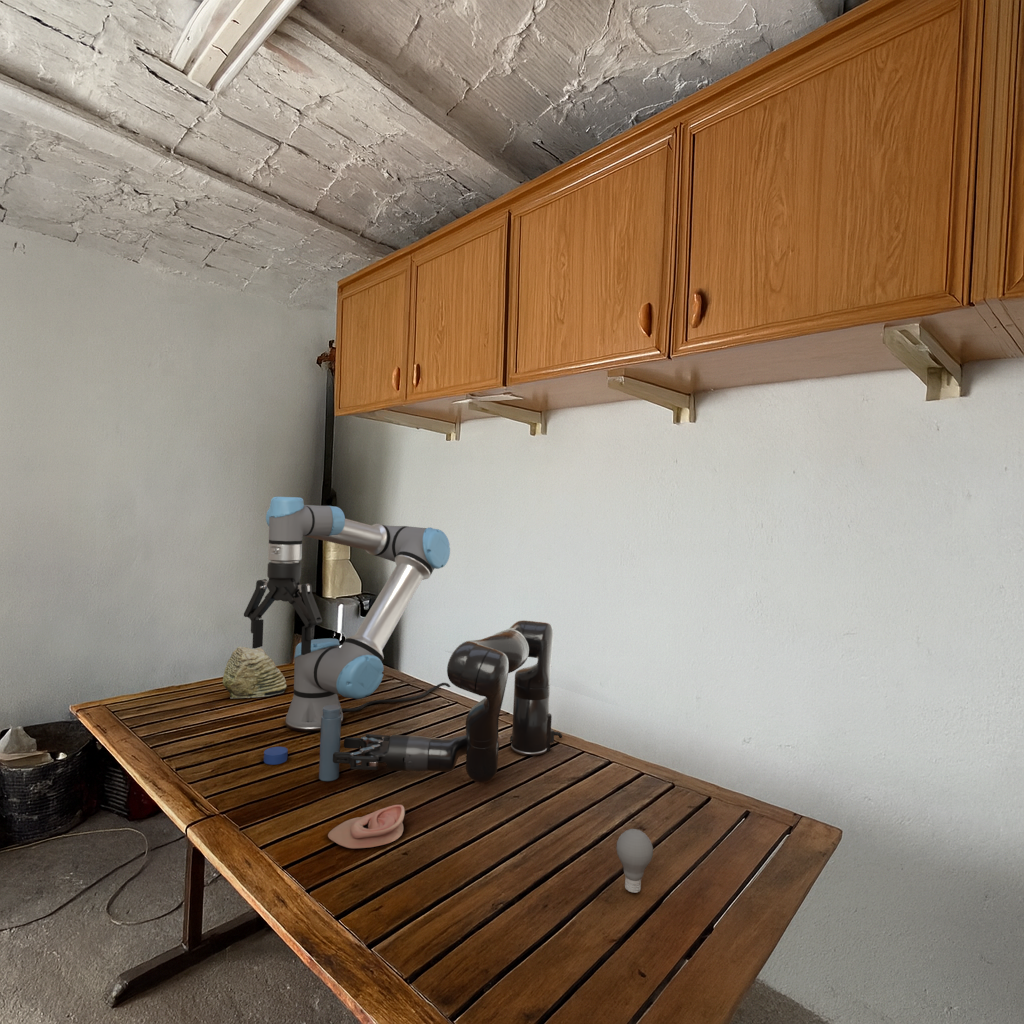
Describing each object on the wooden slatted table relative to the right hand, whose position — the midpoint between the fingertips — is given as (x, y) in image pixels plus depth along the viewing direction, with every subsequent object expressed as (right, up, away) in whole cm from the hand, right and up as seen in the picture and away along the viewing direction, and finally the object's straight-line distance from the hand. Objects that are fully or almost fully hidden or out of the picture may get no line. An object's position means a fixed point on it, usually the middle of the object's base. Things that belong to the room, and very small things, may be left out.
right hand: (338, 749), depth 144 cm
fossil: (-41, -3, +54) cm, 68 cm away
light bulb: (+59, -9, -38) cm, 71 cm away
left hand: (-16, +21, +7) cm, 27 cm away
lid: (-17, -3, +7) cm, 19 cm away
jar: (-2, -6, 0) cm, 6 cm away
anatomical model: (+12, -7, -24) cm, 27 cm away
